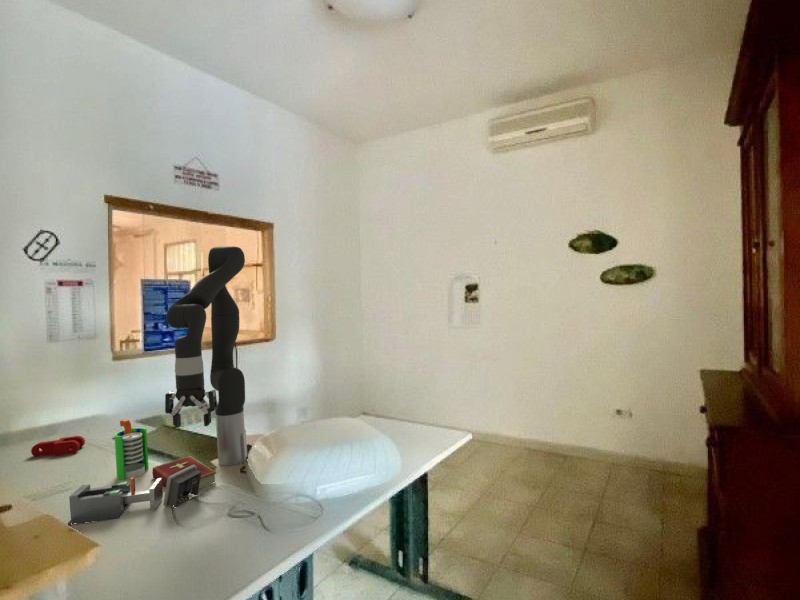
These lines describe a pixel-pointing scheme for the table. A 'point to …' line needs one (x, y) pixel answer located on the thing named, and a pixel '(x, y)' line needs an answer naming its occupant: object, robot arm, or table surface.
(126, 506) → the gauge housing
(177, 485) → the electrical switch
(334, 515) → the table surface
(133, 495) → the plunger
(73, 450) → the mechanical linkage
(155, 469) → the hardcover book
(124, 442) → the green-shelled ribbed roller
